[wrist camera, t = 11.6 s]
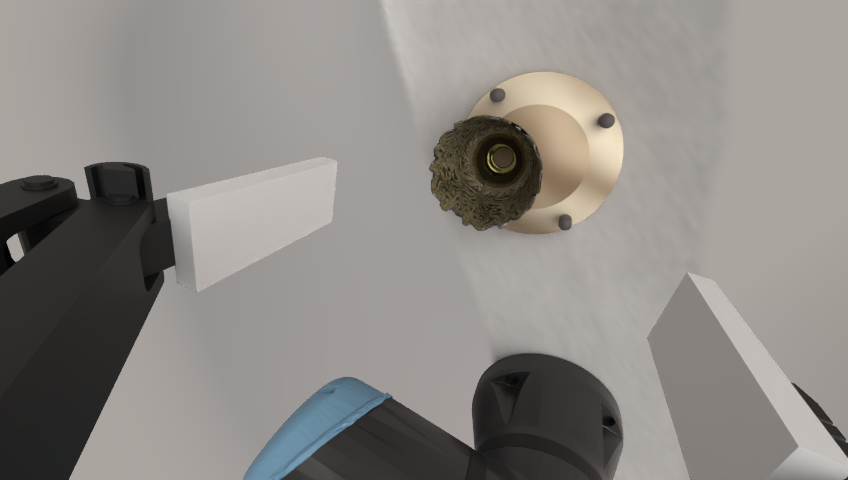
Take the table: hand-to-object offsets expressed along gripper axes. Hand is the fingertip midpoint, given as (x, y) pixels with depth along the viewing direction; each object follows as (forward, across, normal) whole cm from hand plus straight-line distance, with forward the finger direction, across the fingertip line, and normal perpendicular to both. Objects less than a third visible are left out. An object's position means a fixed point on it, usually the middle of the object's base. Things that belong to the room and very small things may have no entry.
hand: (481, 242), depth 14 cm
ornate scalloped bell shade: (+19, +2, 0) cm, 19 cm away
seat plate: (+20, 0, 0) cm, 20 cm away
